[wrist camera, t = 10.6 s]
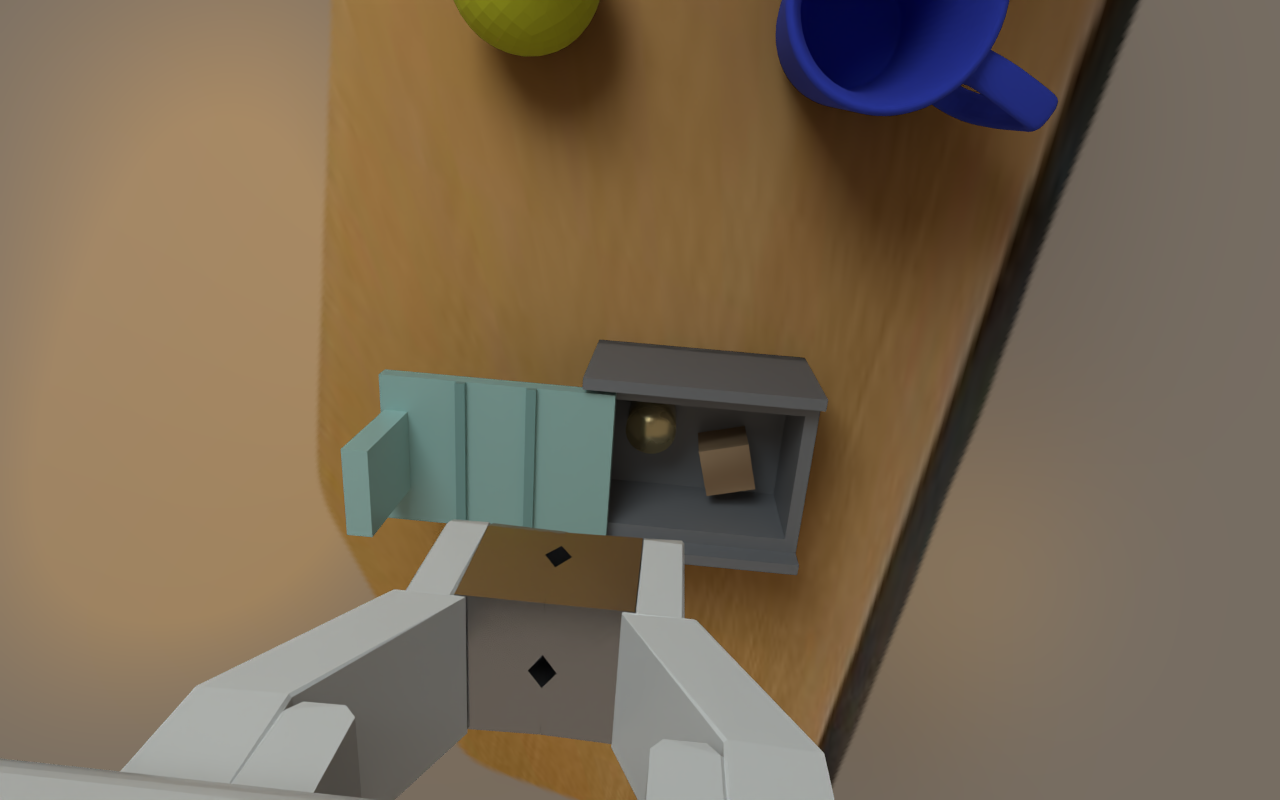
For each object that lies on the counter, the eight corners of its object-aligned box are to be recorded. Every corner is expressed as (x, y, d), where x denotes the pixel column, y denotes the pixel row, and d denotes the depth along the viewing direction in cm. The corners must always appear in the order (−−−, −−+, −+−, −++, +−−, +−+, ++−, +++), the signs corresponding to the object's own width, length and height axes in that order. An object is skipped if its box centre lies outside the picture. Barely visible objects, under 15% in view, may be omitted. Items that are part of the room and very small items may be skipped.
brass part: (630, 388, 42) (627, 405, 40) (678, 392, 42) (677, 409, 39) (628, 432, 43) (624, 451, 41) (674, 436, 43) (673, 455, 40)
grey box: (599, 339, 42) (583, 378, 35) (804, 357, 42) (828, 400, 35) (590, 492, 45) (574, 553, 39) (780, 510, 45) (797, 575, 38)
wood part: (697, 432, 43) (698, 452, 40) (744, 425, 43) (748, 444, 40) (705, 474, 44) (706, 495, 41) (751, 467, 44) (755, 489, 41)
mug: (916, 193, 38) (991, 210, 29) (727, 63, 37) (743, 37, 27) (1023, 47, 36) (1144, 14, 26) (825, -99, 34) (878, -190, 25)
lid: (385, 369, 37) (333, 409, 32) (616, 390, 37) (604, 434, 31) (392, 510, 40) (345, 568, 34) (607, 530, 39) (595, 593, 34)
